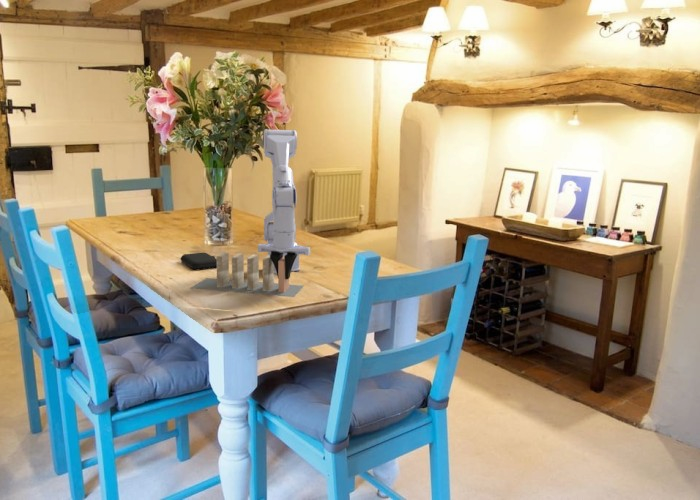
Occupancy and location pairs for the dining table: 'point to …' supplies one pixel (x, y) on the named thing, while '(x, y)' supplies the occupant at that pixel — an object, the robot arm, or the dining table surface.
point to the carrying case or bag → (199, 261)
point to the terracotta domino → (282, 276)
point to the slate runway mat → (212, 285)
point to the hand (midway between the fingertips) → (283, 278)
